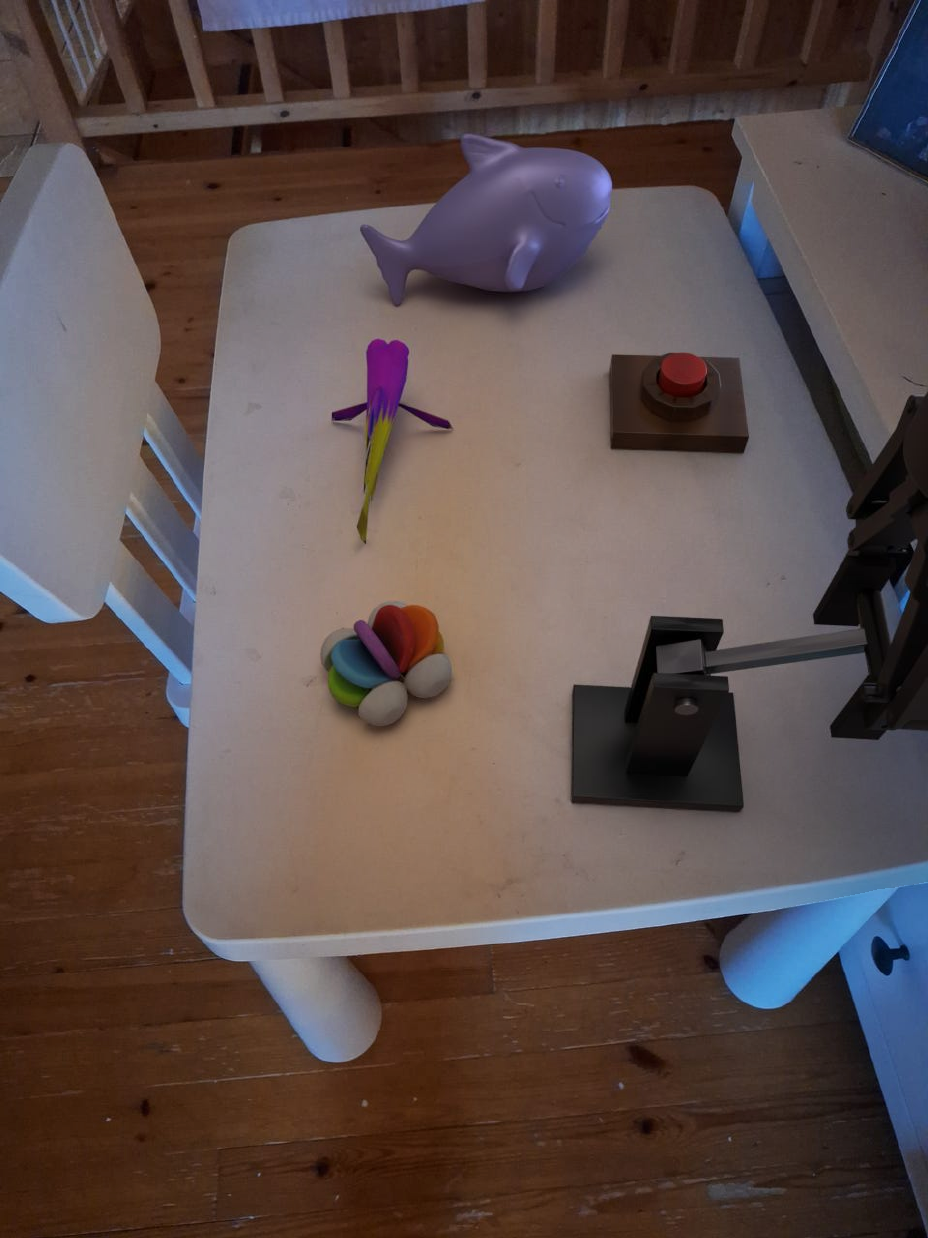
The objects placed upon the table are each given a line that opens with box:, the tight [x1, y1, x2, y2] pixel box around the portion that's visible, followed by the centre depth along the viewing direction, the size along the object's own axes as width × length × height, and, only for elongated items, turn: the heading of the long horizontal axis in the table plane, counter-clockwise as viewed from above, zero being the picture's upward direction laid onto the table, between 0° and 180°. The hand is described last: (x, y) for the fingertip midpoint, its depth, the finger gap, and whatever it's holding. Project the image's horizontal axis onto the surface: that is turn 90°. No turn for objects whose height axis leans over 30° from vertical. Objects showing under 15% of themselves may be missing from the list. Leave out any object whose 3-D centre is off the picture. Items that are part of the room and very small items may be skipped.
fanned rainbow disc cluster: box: [319, 600, 453, 727], centre depth 68 cm, size 8×10×7 cm
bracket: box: [570, 615, 745, 813], centre depth 61 cm, size 12×9×15 cm
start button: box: [659, 352, 707, 398], centre depth 81 cm, size 4×4×2 cm
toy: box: [330, 338, 455, 545], centre depth 79 cm, size 12×19×10 cm, turn 173°
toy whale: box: [359, 133, 613, 307], centre depth 89 cm, size 14×25×16 cm, turn 101°
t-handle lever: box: [656, 589, 892, 676], centre depth 54 cm, size 13×6×2 cm, turn 86°
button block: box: [608, 352, 750, 454], centre depth 83 cm, size 12×10×4 cm
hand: (844, 674), depth 55 cm, fingers open, 7 cm apart
